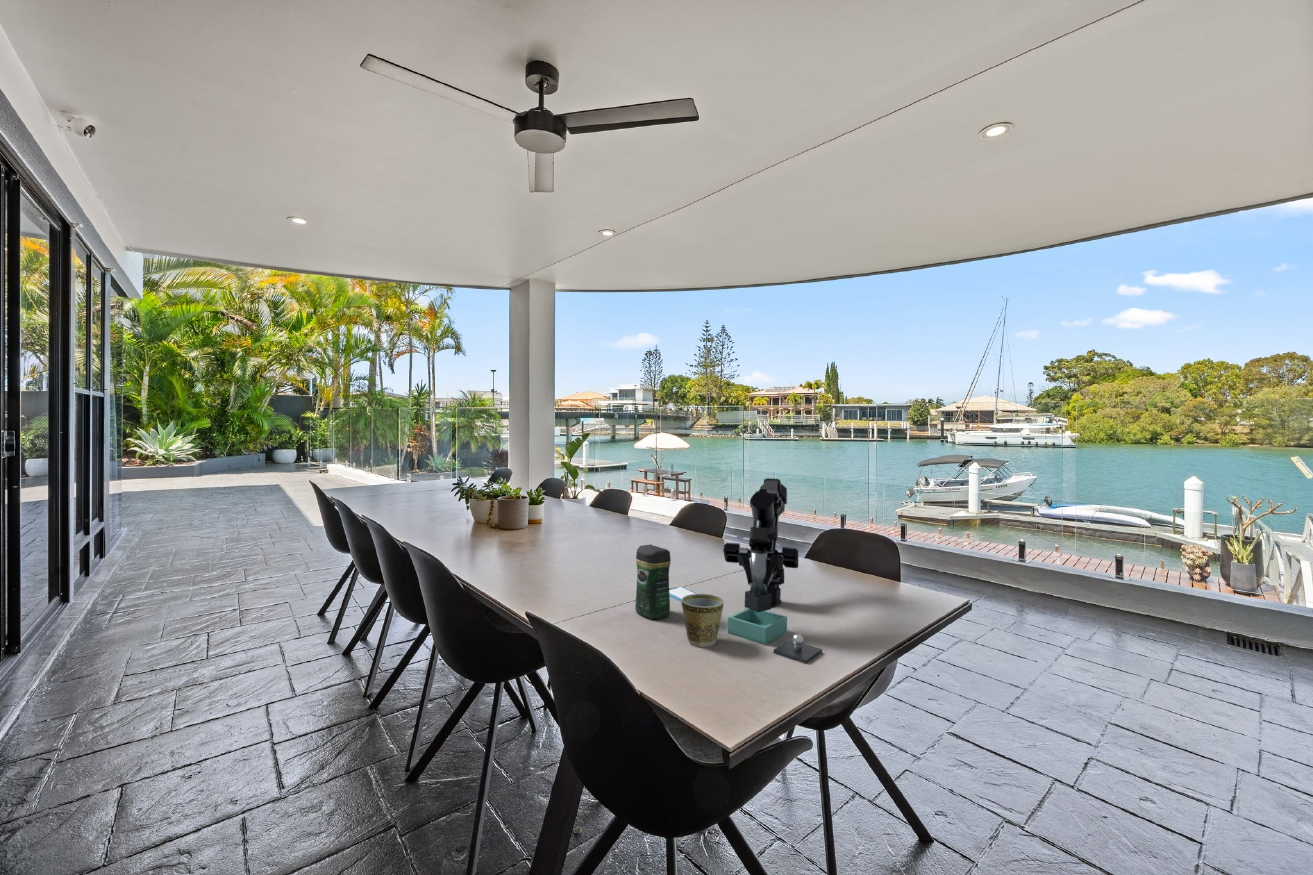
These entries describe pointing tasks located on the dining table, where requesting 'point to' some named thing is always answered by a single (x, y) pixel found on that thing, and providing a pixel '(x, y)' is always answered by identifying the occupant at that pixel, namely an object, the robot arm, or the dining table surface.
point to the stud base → (798, 650)
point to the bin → (757, 625)
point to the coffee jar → (652, 581)
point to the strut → (758, 584)
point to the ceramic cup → (702, 618)
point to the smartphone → (679, 593)
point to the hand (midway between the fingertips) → (757, 584)
